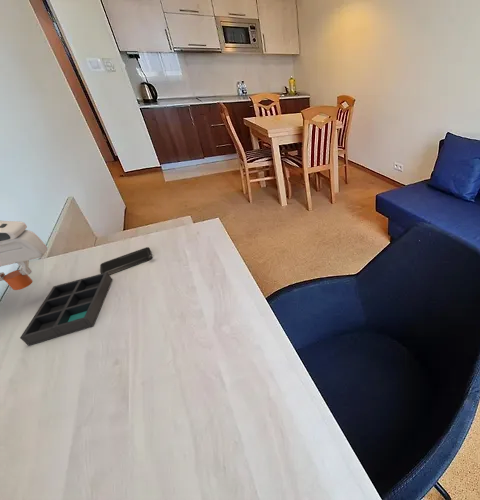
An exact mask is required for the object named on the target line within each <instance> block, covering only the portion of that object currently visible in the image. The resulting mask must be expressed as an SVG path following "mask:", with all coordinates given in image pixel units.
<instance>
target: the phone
mask: <svg viewBox="0 0 480 500" xmlns="http://www.w3.org/2000/svg"><path fill="white" fill-rule="evenodd" d="M152 259H153V253H152V250H151V248H150V246H149V247H148V246H147V247H143V248H140V249H137V250H135V251H132V252H129V253H127V254H123V255H120V256H118V257H115V258H112V259H109V260H107V261H104V262H101V263H100V265H99V268H100V269H99V274H102V273H106V272H108V274H109V275H110V276H111V275H113V274H115V273H117V272H121V271H123V270H126V269H128V268H131V267H134V266H136V265H140V264H142V263H145V262H147V261H150V260H152Z"/></svg>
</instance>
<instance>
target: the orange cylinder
mask: <svg viewBox="0 0 480 500" xmlns="http://www.w3.org/2000/svg"><path fill="white" fill-rule="evenodd" d="M20 270H21V269H16V270H13V271H11V272H8V273H7V274H5V276H4V277H3V279H4V280H3V281H4V282H5V283H7V285H8V286H9V287H10V288H11V289H12V290H13V291H19V290H23V289H25V288H27V287H29V286H31V285H32V283H33V282H34V281H33V279H31V277H30V276H29V274H28V275H24V276H23V275H22V274H21V273H20V272H19V271H20Z"/></svg>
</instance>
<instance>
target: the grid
mask: <svg viewBox="0 0 480 500" xmlns="http://www.w3.org/2000/svg"><path fill="white" fill-rule="evenodd" d="M113 280H114V279H113V277H112V276H111V274H110V275H109V274H108V272H106V273H102V274H101V273H99V274H94V275H92V276H88V277H83V278H80V279H76V280H71V281H68V282H65V283H60V284H57V285H53V286H52V288H51V289H50V291H49V292H48V294H47V296H46V297H45V299H44V300H43V302H42V303H41V304H40V306H39V307H38V309H37V311H36V312H35V314H34V316H33V317H32V319H31V320H30V321H29V323H28V324H27V326H26V327H25V329H24V330H23V332H22V334H21V335H20V337H19V339H20V340H22V341H23V343H25V344H26V345H27V346H28V347H29V346H32V345H33V346H34V345H36V344H40V343H42V342H46V341H50V340H53V339H56V338H59V337H62V336H66V335H69V334H72V333H76V332H79V331H83V330H87V329H88V328H92V327H94V326H95V324H96V321H97V318H98V316H99V314H100V311H101V308H102V306H103V304H104V302H105V299H106V297H107V294H108V292H109V289H110V287H111V284H112V282H113Z"/></svg>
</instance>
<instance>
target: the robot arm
mask: <svg viewBox="0 0 480 500" xmlns="http://www.w3.org/2000/svg"><path fill="white" fill-rule="evenodd" d="M27 228H28V225H27V224H26V223H25V222H24V221H20V220H19V221H18V220H17V221H15V220H0V267H4V266H9V265H13V264H17V265H18V266H21V268H20V269H19V270H20V271H19V272H20V273H21V274H22V275H23V276H24V275H28V276H29V275H31V274H32V269H31V268H30V267H29V265H30V264H29V263H30V261H31V260H36V259H40V258H43V257H44V256H45V255H46V253H47V252H48V247H47V245H46V243H44V241H43V240H42V239H41V238H40V237H39V236H38V235H37V234H36V233H35V232H34V231H31V230H29V229H27ZM5 275H6V273H5V272H3V271H2V272H0V282H3V281H5V280H4V279H3V277H4V276H5Z"/></svg>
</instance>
